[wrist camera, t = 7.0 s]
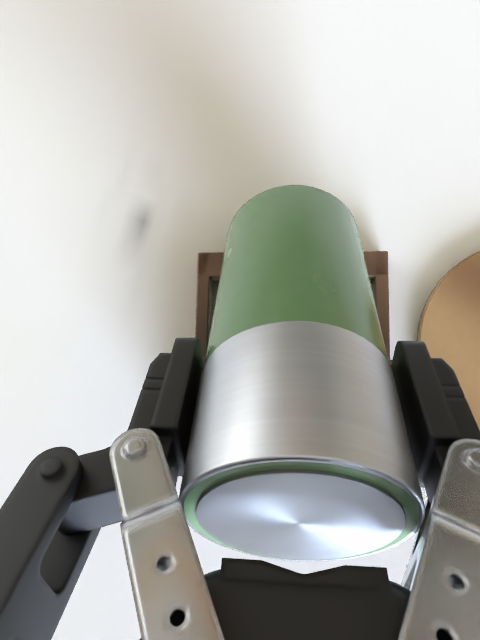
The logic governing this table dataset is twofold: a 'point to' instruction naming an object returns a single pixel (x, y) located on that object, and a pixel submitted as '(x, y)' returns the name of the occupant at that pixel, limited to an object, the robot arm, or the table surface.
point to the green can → (298, 395)
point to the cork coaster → (457, 327)
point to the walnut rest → (211, 272)
